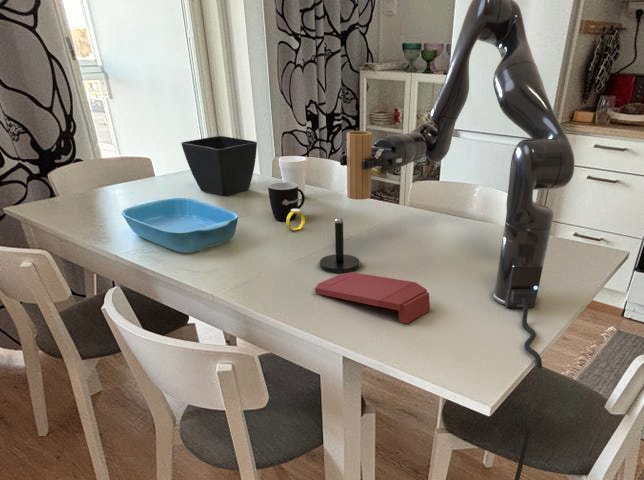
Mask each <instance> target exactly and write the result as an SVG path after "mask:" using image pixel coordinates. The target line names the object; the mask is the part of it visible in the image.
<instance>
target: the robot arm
mask: <svg viewBox="0 0 644 480" xmlns="http://www.w3.org/2000/svg"><path fill="white" fill-rule="evenodd" d="M524 23H525V22H524V19H523V14H522V10H521V7H520V5H519V4H518V2H516V1H515V0H471V1H470V4H469V6H468V8H467V11H466V13H465V16H464V19H463V22H462V26H461V29H460V31H459V35H458V38H457V41H456V44H455V47H454V51H453V53H452V57H451V59H450V60H451V61H450V63H449V66H448V70H447V74H446V76H445V79H444V81H443V83H442V86H441V88H440V90H439V92H438V94H437V97H436V99H435V102H434V104H433V105H432V108H431V110H430V114H429V115H430V118H431V120H432V122H433V123H434V125H435V126H436V127H434V126H433V125H431V124H430V123H426V122H422V123H420V124H419V125H418V126H417V127H416V128H414V129H413V130H411V131H410V132H408V133H398V134H393V135H389V136H383V137H381V138H378V139H377V140H376V141H375V142H374V145H372V150H371V157H370V158H366V159H363V160H362V169H363V170H367V169H370V168H371V169H380V170H382V171H392V170H395V169H398V168H402V167H405V166H406V165H408V164H411V163H414V162H417V161H420V160H422V159H423V158H424V157H425V158H426V159H428V161H430V162H432V163H438V162H441V161H443V159H445V157H447V154H448V153H449V151H450V148H451V144H452V140H453V135H454V130H455V126H456V122H457V120H458V118H459V116H460V115H461V113H462V110H463V109H464V106H465V105H466V102H467V100H468V98H469V97H468V96H469V92H470V58H471V54H472V51H473V49H474V47H475V44H476V43H477V41H480V42H483V43H486V44H489V45H491V46H493V47H495V48H496V49H497V51H498V52H499V55H500V57H501V58H500V60H499V62H498V63H497V66H496V68H495V70H494V74H493V78H492V83H493V84H492V85H493V89H494V93H495V97H496V99H497V102H498V106H499V108H500V110H501V112H502V113H503V114H504V115H505V116H506V118H508V120H509V121H511V122H512V123H513V124H514V125H515V126H517V127H518V128H519V129H521V130H522V131H523V132H524V133H526V135H527V136H529V138H527V139H522V140H520V141H519V142H518V143H517V144H516V145H515V148H514V149H513V152H512V156H511V160H510V166H509V178H508V187H507V195H506V213H505V214H506V215H505V222H504V229H503V235H502V240H501V247H500V254H499V261H498V267H497V272H496V279H495V286H494V291H493V294H492V297H493V299H494V300H495V302H497V303H498V304H501V305H503V306H505V308H510V309H512V308H513V309H514V308H515V309H517V308H521V309H522V316H521V317H522V318H521V322H522V323H521V324H522V326H523V328H524V329H525V330H526V331H527V332H528V333H529V334H530V336H529V337H528V338H527V339H526V341H525V342H524V349H525V351H527V353H529V354H530V355H532V356H533V358H534V360H535V363H536V368H537V369H543V361H542V358H541V355H540V354H539V353H538V351H536V350H535V349H533V348H532V347H531V343H532V342H534V340H535V339H536V336H537V333H536V330H535V329H533V328H532V327H531V326H530V325H529V324H528V314H529V313H528V312H529V311H528V308H535V306H536V304H537V300H538V295H539V293H538V292H539V289H540V284H541V280H542V279H541V278H542V274H543V269H544V264H545V260H546V256H547V255H546V254H547V249H548V246H549V240H550V236H551V231H552V226H553V221H554V211H553V210H552V209H551V208H550V207H548V206H546V205H544V204H542V203H538V202H536V201H534V191H535V190H536V191H538V190H555V189H560V188H564V187H565V186H567V185H568V184H569V183H570V182H571V180H572V179H573V176H574V173H575V153H574V151H573V148H572V145H571V142H570V140H569V138H568V136H567V134H566V132H565V131H564V129H563V127H562V125H561V123H560V122H559V119H558V118H557V115H556V113H555V111H554V109H553V107H552V105H551V104H552V103H551V101H550V100H549V97H548V95H547V92H546V89H545V86H544V82H543V80H542V79H543V78H542V77H541V74H540V72H539V69H538V66H537V63H536V62H535V59H534V57H533V53H532V50H531V47H530V44H529V41H528V37H527V32H526V28H525V24H524ZM344 153H345V154H341V155H340V156H339V164H340V166H342V167H344V166H347V149H346V150H345V151H344ZM531 432H532V428H525V431H524V436H523V442H522V446H521V451H520V454H519V459H518V464H517V468H516V472H515V476H514V480H520V479H521V475H522V471H523V467H524V463H525V458H526V455H527V451H528V450H527V449H528V445H529V441H530V436H531Z"/></svg>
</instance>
